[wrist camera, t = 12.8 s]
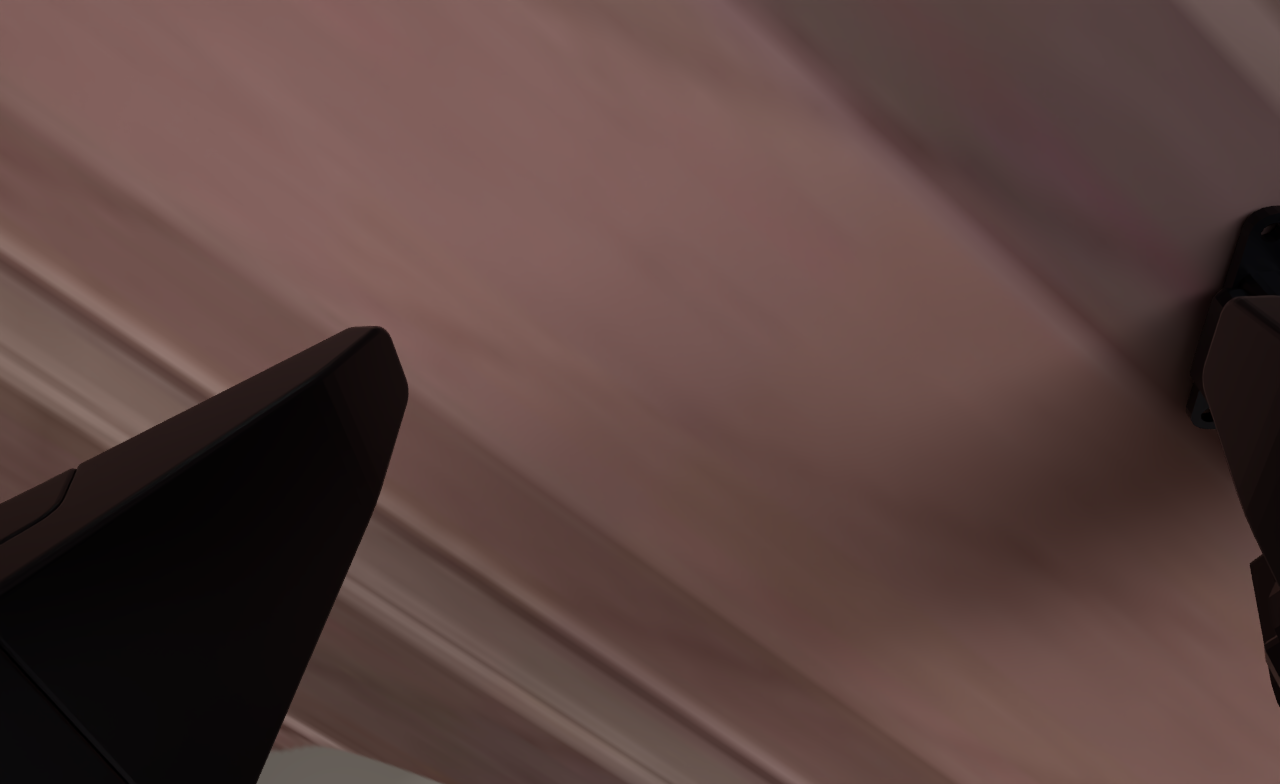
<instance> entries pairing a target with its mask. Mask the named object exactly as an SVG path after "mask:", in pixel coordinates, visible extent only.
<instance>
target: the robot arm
mask: <svg viewBox="0 0 1280 784" xmlns="http://www.w3.org/2000/svg"><path fill="white" fill-rule="evenodd" d="M1273 223H1278V226H1277V227H1276V229H1275V230H1274V231H1272V232H1271V233H1269V234H1265V235H1261V232H1262V231H1263V229H1264V228H1265V227H1267V226H1268V225H1270V224H1273ZM1190 376H1191V378H1192V379H1193V381H1194V383H1193V386H1192V390H1191V393H1190V396H1189V399H1188V402H1187V406H1186V412H1187V414H1188V416H1189V417H1190V419H1191V421H1192V422H1193V424H1194V425H1195V426H1197V427H1199V428H1203V429H1216V430H1217V433H1218V436H1219V439H1220V442H1221V445H1222V448H1223V451H1224V454H1225V458H1226V461H1227V464H1228V467H1229V470H1230V473H1231V476H1232V479H1233V482H1234V486H1235V489H1236V492H1237V495H1238V498H1239V500H1240V503H1241V506H1242V509H1243V511H1244V514H1245V516H1246V519H1247V521H1248V523H1249V525H1250V528H1251V530H1252V532H1253V534H1254V537H1255V539H1256V541H1257V543H1258V545H1259V547H1260V549H1261V551H1262V553H1263V554H1262V555H1261V556H1259V557H1258V558H1257V559H1255V560H1254V561H1252V562H1251V563H1250V569H1251V575H1252V580H1253V586H1254V591H1255V597H1256V602H1257V608H1258V613H1259V619H1260V624H1261V630H1262V635H1263V641H1264V649H1265V659H1266V663H1267V664H1268V668H1269V673H1270V679H1271V684H1272V687H1273V691H1274V694H1275V697H1276V700H1277V703H1278V705H1279V707H1280V206H1270V207H1265V208H1262V209H1260V210H1258V211H1256V212H1254V213H1253V214H1252V215H1251V216H1249V217H1248V218H1247V219H1246V221H1245V223H1244V225H1243V227H1242V230H1241V233H1240V236H1239V240H1238V243H1237V246H1236V249H1235V252H1234V256H1233V259H1232V262H1231V265H1230V268H1229V271H1228V275H1227V278H1226V281H1225V284H1224V287H1223V289H1221V290H1220V291H1219V292H1218V293H1217V294H1216V295H1215V296H1214V297H1213V298H1212V301H1211V305H1210V308H1209V311H1208V314H1207V318H1206V321H1205V324H1204V327H1203V331H1202V334H1201V337H1200V340H1199V344H1198V347H1197V350H1196V353H1195V357H1194V360H1193V363H1192V366H1191V370H1190ZM407 402H408V384H407V380H406V377H405V374H404V372H403V369H402V366H401V363H400V361H399V358H398V355H397V352H396V350H395V347H394V344H393V341H392V339H391V337H390V335H389V333H388V332H387V331H386V330H385V329H384V328H382V327H379V326H363V327H351V328H348V329H345V330H343V331H342V332H340V333H338V334H336V335H334V336H332V337H330V338H328V339H326V340H324V341H322V342H320V343H318V344H316V345H314V346H312V347H310V348H308V349H306V350H304V351H302V352H300V353H298V354H296V355H294V356H292V357H290V358H288V359H286V360H284V361H282V362H280V363H278V364H276V365H274V366H273V367H271V368H269V369H267V370H265V371H263V372H261V373H259V374H257V375H255V376H253V377H251V378H249V379H247V380H245V381H243V382H241V383H239V384H237V385H235V386H233V387H231V388H229V389H227V390H225V391H223V392H221V393H219V394H217V395H215V396H213V397H211V398H209V399H207V400H206V401H204V402H202V403H200V404H198V405H196V406H194V407H192V408H190V409H188V410H186V411H184V412H182V413H180V414H178V415H176V416H174V417H172V418H170V419H168V420H166V421H164V422H162V423H160V424H158V425H156V426H154V427H152V428H150V429H148V430H146V431H144V432H142V433H140V434H138V435H137V436H135V437H133V438H131V439H129V440H127V441H125V442H123V443H121V444H119V445H117V446H115V447H113V448H111V449H109V450H107V451H105V452H103V453H101V454H99V455H97V456H95V457H93V458H91V459H89V460H87V461H85V462H83V463H81V464H80V465H79V466H78V468H77V469H74V468H72V469H69V470H67V471H65V472H63V473H61V474H59V475H57V476H55V477H53V478H51V479H49V480H48V481H46V482H44V483H42V484H40V485H38V486H36V487H34V488H32V489H30V490H27V491H25V492H23V493H21V494H19V495H17V496H15V497H13V498H11V499H9V500H7V501H5V502H3V503H1V504H0V784H256V783H257V781H258V779H259V776H260V774H261V772H262V769H263V767H264V765H265V762H266V760H267V758H268V755H269V753H270V751H271V748H272V746H273V744H274V741H275V739H276V737H277V735H278V732H279V730H280V728H281V725H282V723H283V721H284V718H285V716H286V714H287V711H288V709H289V707H290V704H291V702H292V700H293V697H294V695H295V693H296V690H297V688H298V686H299V683H300V681H301V679H302V676H303V674H304V672H305V670H306V667H307V665H308V663H309V660H310V658H311V656H312V653H313V651H314V649H315V646H316V644H317V642H318V639H319V637H320V635H321V632H322V630H323V628H324V625H325V623H326V621H327V618H328V616H329V614H330V611H331V609H332V607H333V604H334V602H335V600H336V598H337V595H338V593H339V591H340V588H341V586H342V584H343V581H344V579H345V577H346V574H347V572H348V570H349V567H350V565H351V563H352V560H353V558H354V556H355V553H356V551H357V549H358V546H359V544H360V542H361V539H362V537H363V535H364V532H365V530H366V528H367V526H368V523H369V521H370V518H371V516H372V513H373V511H374V508H375V506H376V503H377V500H378V497H379V494H380V491H381V489H382V486H383V482H384V479H385V476H386V472H387V469H388V466H389V462H390V459H391V456H392V452H393V449H394V446H395V442H396V439H397V436H398V432H399V429H400V426H401V422H402V419H403V416H404V412H405V409H406V406H407ZM1209 408H1210V411H1211V412H1209V413H1203V412H1204V411H1205V410H1207V409H1209Z"/></svg>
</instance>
